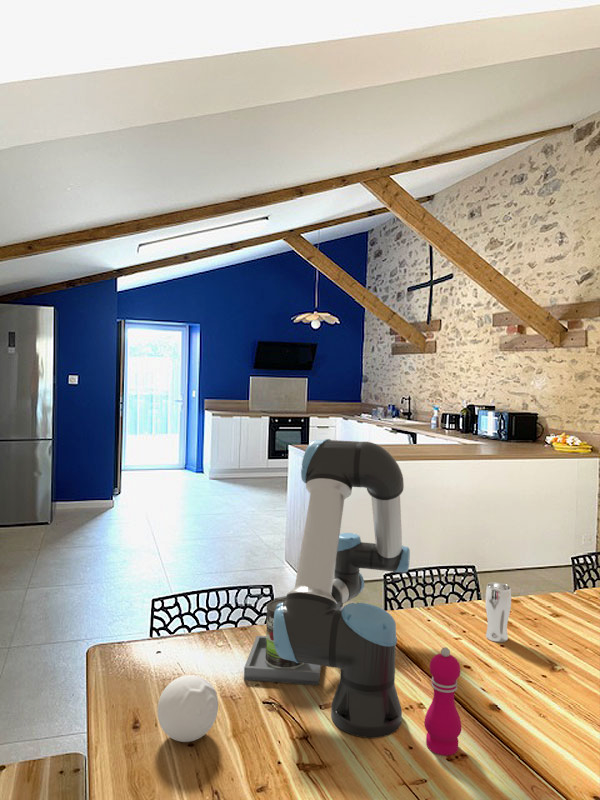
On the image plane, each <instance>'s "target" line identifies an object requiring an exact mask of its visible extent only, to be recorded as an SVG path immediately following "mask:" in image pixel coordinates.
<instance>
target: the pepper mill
mask: <svg viewBox="0 0 600 800" xmlns="http://www.w3.org/2000/svg"><path fill="white" fill-rule="evenodd" d="M429 672H430V674H431V676H432V677H431V687H432V688H433V698H432V700H431V703H430V705H429V707H428V709H427V710H426V713H425V716H424V728H425V730H426V736H425V737H426V738H425V744H426V746H427V749H429V750H430V751H431V752H433V753H434V754H436V755H439V756H440V755H441V756H453V755H455V754H456V753H457V752H458V750H459V739H458V738H459V736H460V735H461V733H462V720H461V717H460V715H459V711H458V709H457V707H456V703H455V692H456V691H457V690H458V681H457V680H458V679H459V678H460V675H461V665H460V662H459V661H458V659H457V658H456V657H454V656H453V655H451V650H450V649H449V648H448V647H443V648H441V650H440V653H437V654H436V655H434V656H433V657H432V658H431V659H430V663H429Z"/></svg>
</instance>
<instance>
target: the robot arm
mask: <svg viewBox="0 0 600 800" xmlns="http://www.w3.org/2000/svg"><path fill="white" fill-rule="evenodd" d="M300 471H301V472H300V474H301V476H300V477H301V481H302V482H303V483H304V484H305V489H306V490H307V492H308V493H309V500H308V505H307V506H308V508H307V513H306V519H305V525H304V530H303V537H302V541H301V548H300V553H299V559H298V566H297V570H296V571H297V573H296V578H295V582H294V584H295V585H294V587H293V589H291V590H290V591H288V592H287V594H286V595H285V596H284V595H283V596H278V597H274V600H277V599H286V601H285V603H283V602H282V603H279V604H278V605H277V606H276V610H275V613H274V622H273V637H274V645H275V649H276V652H277V654H278V655H279V657H281V658H282V659H285V660H290V661H295V662H296V663H299V662H302V663H309V664H315V665H321V667H322V666H323V667H329V668H337V669H340V677H339V678H340V679H339V681H338V686H337V688H336V691H335V693H334V696H333V697H332V698H333V699H332V702H331V704H330V705H331V706H330V717H331V720H332V722H333V724H334V725H335V726H336V727H337V728H338V729H340V730H341V731H343V732H345V733H347V734H350V735H353V736H355V737H360V738H369V739H370V738H371V739H372V738H374V739H375V738H376V739H377V738H383V737H387V736H390V735H392V734H394V733H396V731H398V730H399V729H400V728H401V725H402V721H403V720H402V717H403V712H402V706H401V703H400V698H399V696H398V695H399V694H398V692H397V688H396V686H395V685H396V684H395V677H396V676H395V675H396V674H395V673H396V645H397V643H398V637H397V624H396V620H395V618H394V617H393V616H392V615H391V614H390V613H389V612H387V610H385V609H383V608H381V607H379V606H377V605H374V604H370V603H365V602H356V603H355V602H350V603H347V602H349V601H351V600H352V599H354V598H356V597H358V595H359V594H361V592H362V591H363V590H364V588H365V579H364V577H363V575H362V573H360V569H364V570H365V569H366V570H375V571H376V570H377V571H382V572H391V573H407V572H408V571H409V568H410V556H411V555H410V554H411V552H410V547H408V546H404V545H403V539H402V538H403V537H402V514H401V512H402V510H401V495H402V493H403V492H404V488H405V487H404V485H405V484H404V475H403V473H402V469H401V467H400V466H399V464H398V462H397V460H396V459H395V457H393V455H391V453H390V452H389V451H387V450H386V449H385V448H384V447H382V446H381V445H379V444H377V443H374V442H371V441H356V440H355V441H354V440H352V441H351V440H334V439H330V438H327V439H314V440H313V441H311V442H310V443H309V444H308V445H307V447H306V449H305V451H304V454H303V457H302V462H301V469H300ZM353 487H354V488H364V489H366V491H367V493H368V495H369V496H370V497H371V507H372V508H371V510H372V521H373V529H374V530H373V531H374V541H375V543H372V542H363V541H362V540H361V536H360V535H358V534H357V533H352V532H343V533H341V528H342V527H341V526H342V519H343V514H344V513H343V512H344V506H345V505H344V504H345V500H346V499H348V498H349V497H350V496H351V495H352V490H353ZM346 603H347V604H346ZM344 604H345V605H344Z"/></svg>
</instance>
